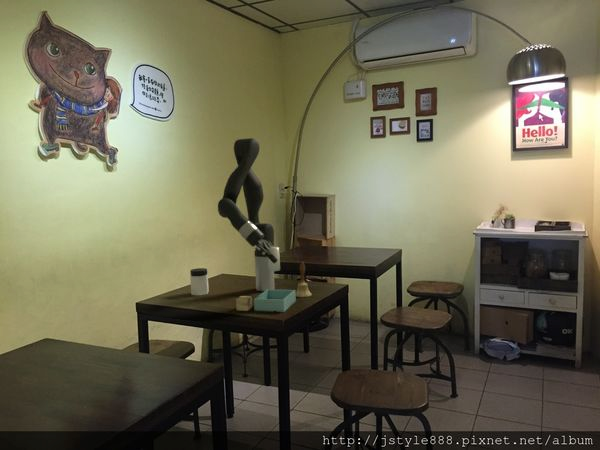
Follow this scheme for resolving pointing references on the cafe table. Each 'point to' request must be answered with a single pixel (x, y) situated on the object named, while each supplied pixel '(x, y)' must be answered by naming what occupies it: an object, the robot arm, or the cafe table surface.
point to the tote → (274, 300)
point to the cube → (244, 303)
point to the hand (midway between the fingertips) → (278, 260)
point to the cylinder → (276, 254)
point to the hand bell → (302, 284)
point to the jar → (199, 281)
